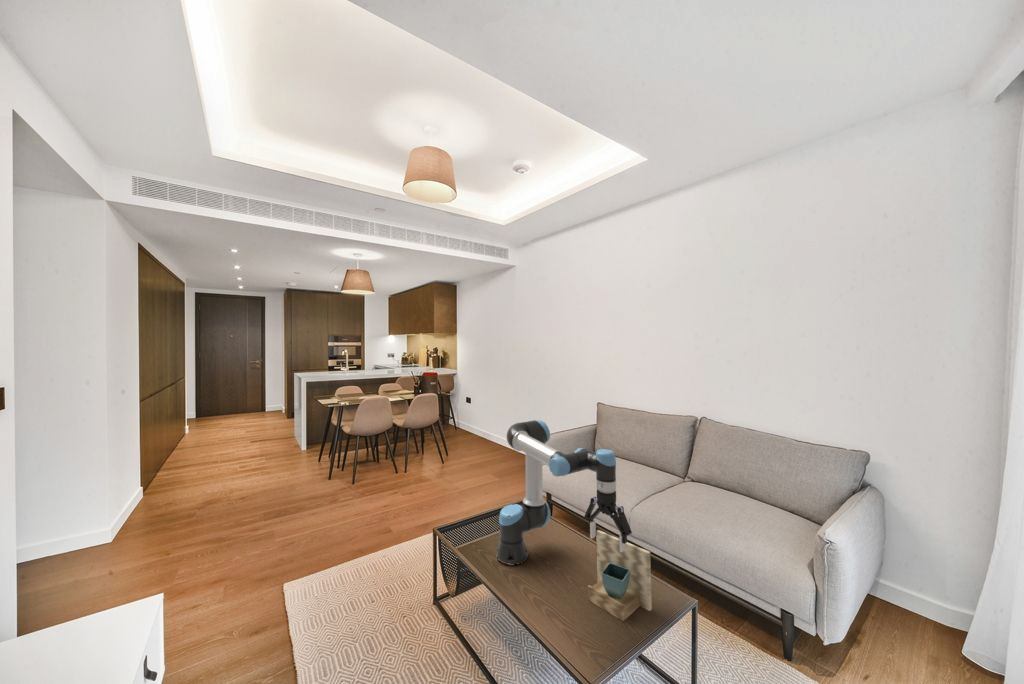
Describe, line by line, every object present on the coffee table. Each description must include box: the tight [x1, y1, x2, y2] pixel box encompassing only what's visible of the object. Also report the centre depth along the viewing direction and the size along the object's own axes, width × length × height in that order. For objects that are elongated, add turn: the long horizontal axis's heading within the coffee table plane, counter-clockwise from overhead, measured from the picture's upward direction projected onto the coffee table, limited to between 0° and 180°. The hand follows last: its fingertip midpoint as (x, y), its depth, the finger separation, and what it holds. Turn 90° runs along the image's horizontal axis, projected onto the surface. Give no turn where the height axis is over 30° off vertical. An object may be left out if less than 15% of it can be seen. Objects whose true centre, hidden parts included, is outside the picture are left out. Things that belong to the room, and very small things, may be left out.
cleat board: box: [587, 529, 653, 622], centre depth 147 cm, size 24×14×22 cm, turn 42°
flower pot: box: [601, 563, 630, 599], centre depth 145 cm, size 9×9×9 cm
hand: (607, 543), depth 146 cm, fingers open, 13 cm apart
